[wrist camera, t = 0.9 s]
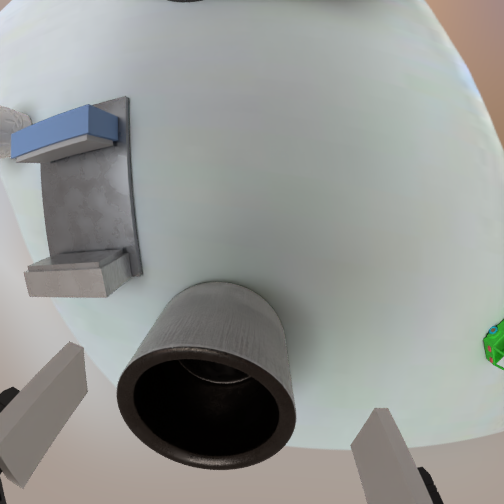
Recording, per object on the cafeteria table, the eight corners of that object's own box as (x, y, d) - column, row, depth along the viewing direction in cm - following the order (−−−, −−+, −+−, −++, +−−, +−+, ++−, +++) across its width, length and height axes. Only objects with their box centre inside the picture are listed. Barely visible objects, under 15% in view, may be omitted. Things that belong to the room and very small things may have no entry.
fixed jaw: (54, 253, 34) (22, 267, 27) (127, 247, 33) (100, 263, 26) (59, 279, 34) (29, 296, 28) (132, 276, 34) (106, 297, 27)
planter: (296, 371, 38) (313, 457, 23) (188, 393, 39) (163, 474, 24) (264, 262, 34) (270, 322, 19) (142, 296, 36) (83, 360, 21)
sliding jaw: (44, 138, 30) (11, 134, 23) (117, 116, 30) (88, 104, 23) (45, 163, 31) (11, 163, 24) (118, 145, 30) (88, 138, 24)
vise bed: (44, 124, 31) (40, 123, 30) (128, 98, 30) (125, 96, 29) (58, 277, 35) (54, 279, 34) (142, 274, 35) (139, 276, 34)
